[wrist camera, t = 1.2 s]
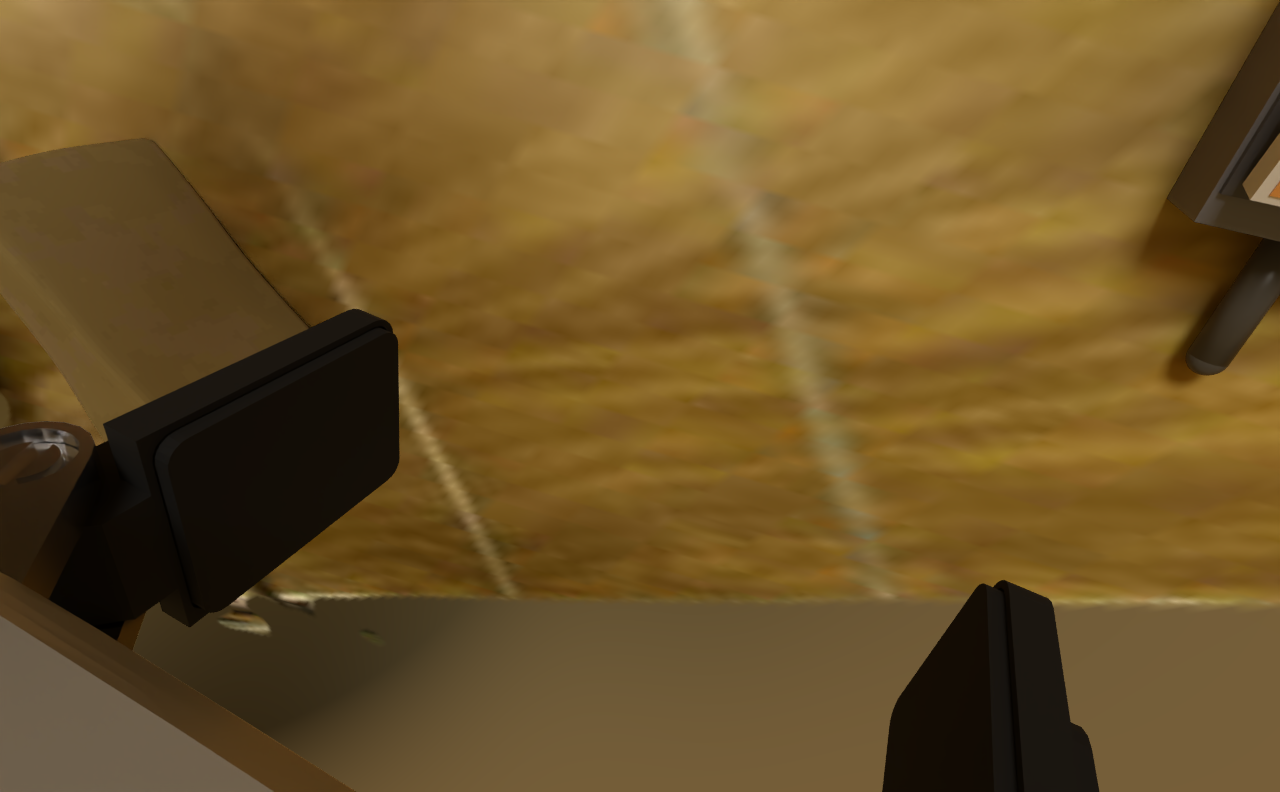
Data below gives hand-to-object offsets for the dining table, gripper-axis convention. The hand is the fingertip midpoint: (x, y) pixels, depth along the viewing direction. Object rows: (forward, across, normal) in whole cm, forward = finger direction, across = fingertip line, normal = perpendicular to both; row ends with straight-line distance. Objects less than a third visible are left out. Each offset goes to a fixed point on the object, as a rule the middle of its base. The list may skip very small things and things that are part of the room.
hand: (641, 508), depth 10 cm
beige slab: (+30, +47, +21) cm, 60 cm away
